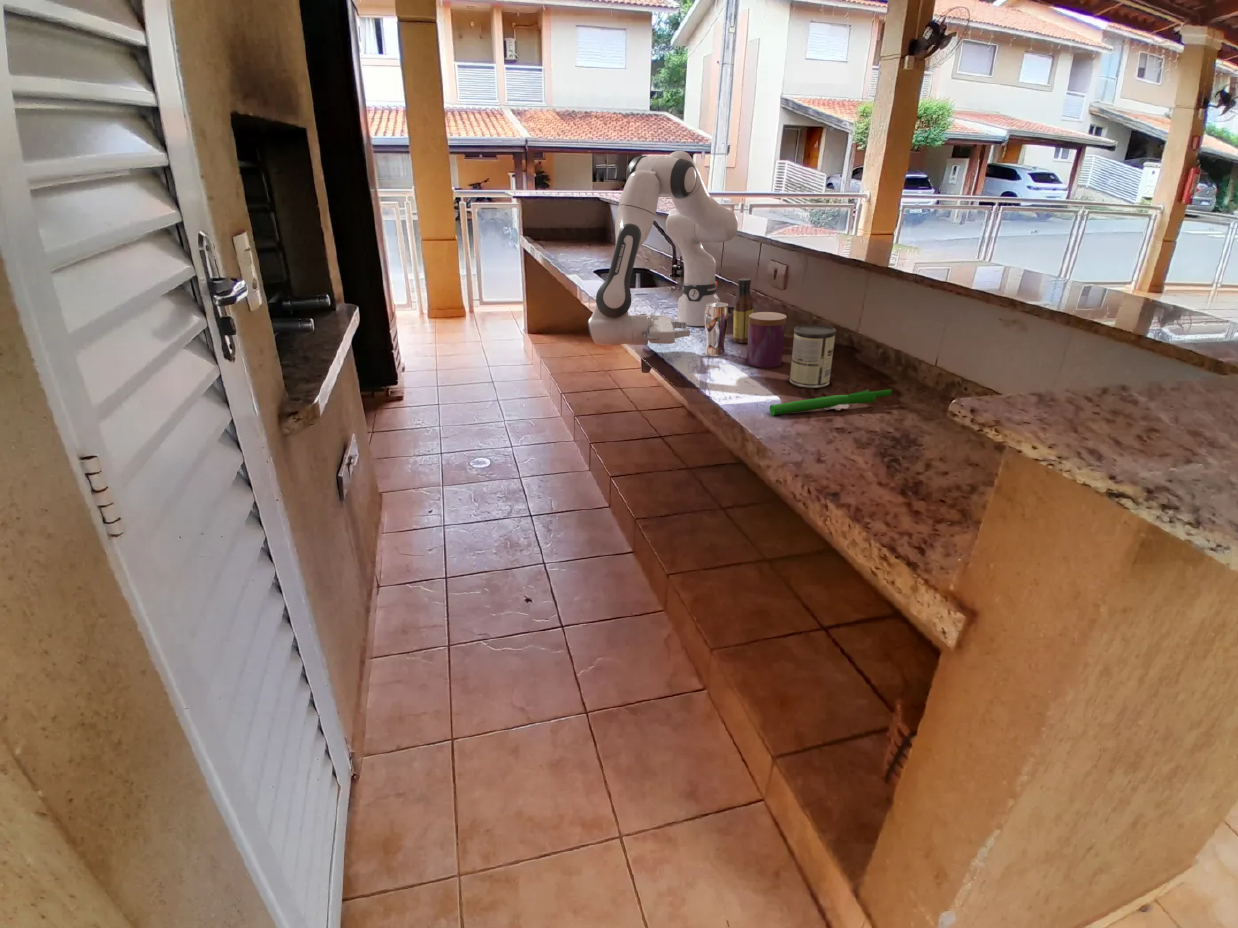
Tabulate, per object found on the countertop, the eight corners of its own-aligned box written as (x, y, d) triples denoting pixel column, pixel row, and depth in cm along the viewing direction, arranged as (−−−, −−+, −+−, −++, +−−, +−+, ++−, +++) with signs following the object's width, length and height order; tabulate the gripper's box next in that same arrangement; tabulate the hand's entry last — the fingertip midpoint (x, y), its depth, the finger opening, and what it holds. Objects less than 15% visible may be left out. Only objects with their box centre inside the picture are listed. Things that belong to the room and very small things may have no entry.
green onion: (775, 421, 141) (895, 403, 145) (775, 408, 139) (897, 390, 143) (766, 414, 145) (883, 396, 149) (767, 401, 143) (885, 383, 147)
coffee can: (790, 374, 168) (795, 323, 162) (830, 377, 165) (836, 325, 159) (787, 386, 160) (792, 332, 153) (828, 389, 157) (835, 335, 150)
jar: (750, 356, 185) (753, 311, 179) (785, 359, 181) (790, 313, 175) (741, 365, 177) (744, 318, 171) (777, 369, 173) (782, 321, 167)
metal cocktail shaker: (701, 351, 191) (703, 302, 185) (723, 350, 192) (725, 301, 185) (706, 357, 185) (708, 307, 178) (728, 356, 185) (731, 306, 179)
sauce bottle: (751, 339, 203) (755, 277, 194) (753, 344, 197) (757, 280, 189) (731, 339, 204) (734, 277, 195) (732, 344, 198) (736, 280, 189)
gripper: (643, 328, 174) (691, 326, 174) (640, 312, 193) (685, 311, 193) (643, 349, 177) (691, 348, 177) (641, 332, 196) (684, 331, 195)
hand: (687, 329), depth 185 cm, fingers open, 8 cm apart
